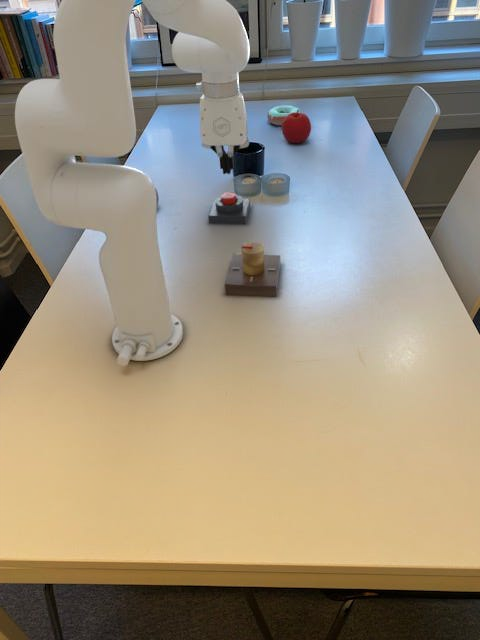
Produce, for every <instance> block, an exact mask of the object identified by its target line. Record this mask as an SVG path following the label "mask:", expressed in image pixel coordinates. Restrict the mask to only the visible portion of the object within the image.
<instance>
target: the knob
mask: <svg viewBox="0 0 480 640" xmlns="http://www.w3.org/2000/svg"><path fill="white" fill-rule="evenodd" d="M240 249H241V254H242V267H243V272H244V273H246V274H248V275H258V274H261V273H262V272H263V271H264V255H265V246H264V245H263V244H262V243H260V242H257V241H250V242H249V241H248V242H246V243H244V244H242V245H241V247H240Z"/></svg>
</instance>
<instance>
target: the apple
mask: <svg viewBox="0 0 480 640" xmlns="http://www.w3.org/2000/svg"><path fill="white" fill-rule="evenodd" d="M299 110H300V109H299ZM299 110H297V113H290V114H289V115H287V116H286V117H285V119H284V120H283V123H282V126H281V134H282V135H283V138H284V139H285V140H286V141H287V142H288V143H292V144H301V143H304V142H305V141H307V139H308V138H309V137H310V135H311V131H312V123H311V120H310V118H309V117H308V115H307V114H305V113H303V112H301V113H298V111H299Z"/></svg>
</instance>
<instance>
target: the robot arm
mask: <svg viewBox="0 0 480 640" xmlns="http://www.w3.org/2000/svg"><path fill="white" fill-rule="evenodd" d="M136 1H137V0H61V1H60V4H59V5H58V9H57V12H56V14H55V19H54V24H53V30H52V31H53V32H52V36H53V46H54V47H53V48H54V52H55V59H56V64H57V69H58V75H59V77H58V78H39V79H34V80H31V81H29V82H27V84H25V85H24V86H23V87H22V88H21V89H20V91H19V93H18V95H17V98H16V101H15V106H14V123H15V125H14V126H15V129H16V134H17V139H18V143H19V146H20V147H19V148H20V150H21V153H22V157H23V160H24V161H23V162H24V164H25V168H26V172H27V175H28V179H29V182H30V186H31V188H32V193H33V197H34V199H35V202H36V205H37V207H38V209H39V211H40V213H41V214H42V215H43V217H44V218H45V219H46V220H47V221H49V222H50V223H52V224H53V225H58V226H61V227H67V228H74V229H82V230H91V231H93V232H95V231H96V232H100V233H103V234H104V235H105V241H103V244H102V245H101V247H100V250H99V252H98V262H99V267H100V271H101V273H102V277H103V281H104V286H105V288H106V291H107V295H108V298H109V303H110V306H111V309H112V313H113V316H114V320H115V325H116V327H115V328H114V329H113V332H112V335H111V343H112V347H113V349H114V350H115V352H116V353H117V354H118V356H117V359H116V363H117V364H118V365H120V366H123V367H125V366H128V365H129V363H130V360H131V361H135V362H147V361H152V360H156V359H159V358H162V357H164V356H166V355H168V354H170V353H171V352H173V351H174V350H175V349H176V348H177V347H179V345H180V344H181V342H182V339H183V337H184V327H183V324H182V321H181V320H180V319H179V318H178V317H177V316H176V315H174V314H172V311H171V307H170V306H171V305H170V300H169V295H168V290H167V289H168V288H167V284H166V279H165V278H166V277H165V272H164V267H163V262H162V257H161V252H160V245H159V239H158V237H159V236H158V228H157V227H158V226H157V225H158V223H157V211H158V210H157V208H158V206H157V196H156V190H157V188H156V186H155V184H154V182H153V180H152V178H150V176H149V175H148V174H147V173H145V172H144V171H142V170H140V169H138V168H135V167H132V166H128V165H123V164H111V163H99V162H82V161H76V156H77V157H87V158H88V157H91V158H108V159H109V158H119V157H123V156H125V155H127V154H128V153H130V152H131V151H132V149H133V148H134V147H135V144H136V140H137V125H136V124H137V123H136V114H135V107H134V100H133V92H132V85H131V77H130V68H129V62H128V52H127V29H128V25H129V21H130V18H131V14H132V11H133V8H134V6H135V4H136ZM141 2H142V4H143V5H144V6H145V8H146V9H147V11H148V12H149V14H150V15H151V17H152V18H153V20H155V21H156V22H157V23H158V24H159V25H161V26H163V27H165V28H166V29H170V30H173V31H175V32H177V33H176V34H175V36H174V38H173V41H172V43H171V44H172V45H171V55H172V59H173V62H174V64H175V66H177V68H178V69H179V70H181V71H184V72H186V73H192V74H193V73H194V74H201V79H202V80H201V81H200V82H196V84H195V87H196V90H197V91H201V92H202V95H201V96H200V98H199V133H200V141H201V147H202V148H205V149H208V150H212V151H213V152H214V153H215V154H216V156H217V157H218V158H219V166H220V169H221V170H222V174H223V175H226V174H227V175H231V172H232V170H234V168H235V162H234V155H235V154H236V153H237V152H238V151H239V150H240V149H245V148H248V147H249V145H250V140H249V137H248V134H249V133H248V132H249V129H248V128H249V127H248V119H247V118H248V117H247V111H246V104H245V99H244V95H243V93H242V91H241V92H240V82H239V81H240V80H239V73H241V72H242V71H244V69H245V68H246V67H247V65H248V63H249V60H250V41H249V38H248V34H247V31H246V28H245V25H244V23H243V20H242V18H241V16H240V13H239V12H238V10H237V9H236V8H235V7H234V6H233V5H232V4H231V3H230V2H229V1H228V0H141ZM225 146H227V151H226V150H225ZM155 188H156V189H155Z"/></svg>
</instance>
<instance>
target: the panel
mask: <svg viewBox="0 0 480 640" xmlns="http://www.w3.org/2000/svg"><path fill="white" fill-rule="evenodd" d="M280 270H281V255H280V254H264V271H263V272H262V273H261V274H258V275H248V274H246V273H244V272H243V267H242V253H232V257H231V260H230V263H229V268H228V272H227V275H226V279H225V283H224V291H225V295H227V296H250V297H253V296H254V297H275V298H276V297H277V295H278V287H279V281H280V280H279V279H280Z"/></svg>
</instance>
